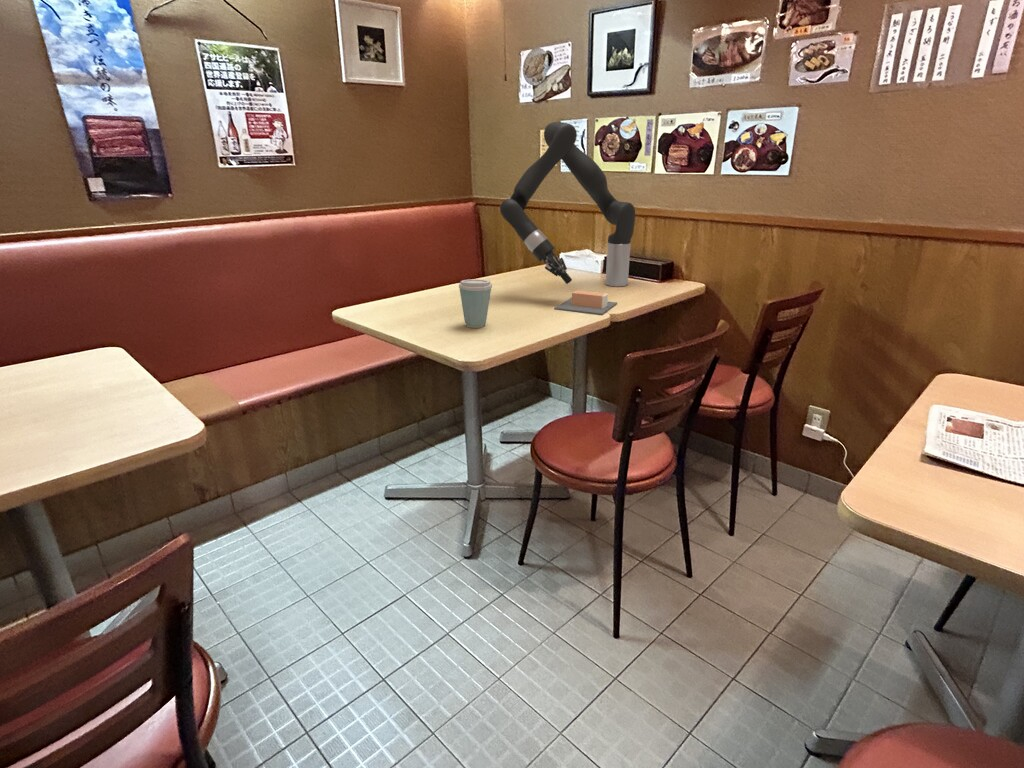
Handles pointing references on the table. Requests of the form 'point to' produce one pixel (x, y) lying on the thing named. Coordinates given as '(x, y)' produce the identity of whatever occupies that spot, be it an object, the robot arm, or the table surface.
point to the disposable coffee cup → (475, 301)
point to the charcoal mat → (584, 308)
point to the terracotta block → (589, 299)
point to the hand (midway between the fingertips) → (569, 282)
